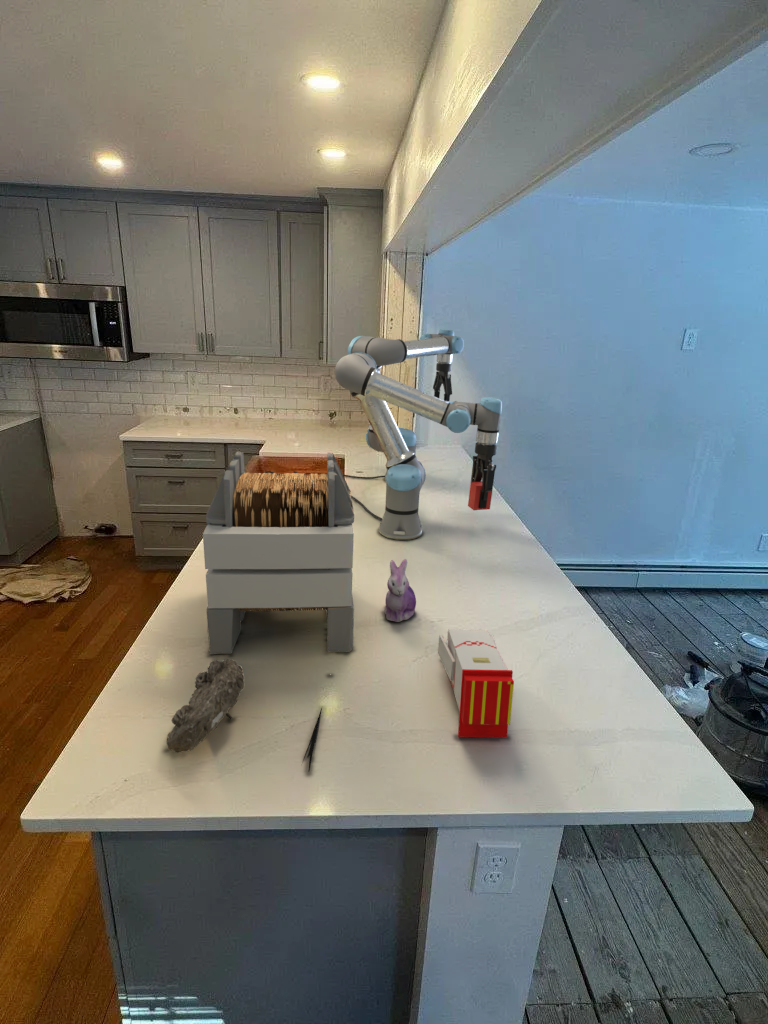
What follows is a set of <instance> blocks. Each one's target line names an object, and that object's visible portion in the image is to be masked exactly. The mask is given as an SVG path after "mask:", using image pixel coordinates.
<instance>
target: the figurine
mask: <svg viewBox="0 0 768 1024" xmlns="http://www.w3.org/2000/svg"><path fill="white" fill-rule="evenodd" d="M407 567H408V559H406V558H404V559H403V560H402V561H401V563H400V565H399V566H398V565H397V563H396V562H395V561H394V560H393V559H391V560H390V561H389V570H390V576H389V578H388V579H387V589H388V591H387V592H386V594H385V595H386V596H385V607H384V615H385V616H386V620H387V621H391V622H395V623H400V622H402V621H406V620H409V619H410V618H411V617H413V616H414V615H415V610H416V606H417V597H416V593H415V591H414V590H413V587H411V586H410V582H409V579H408V577H407V574H406V571H407Z"/></svg>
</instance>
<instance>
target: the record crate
mask: <svg viewBox="0 0 768 1024" xmlns="http://www.w3.org/2000/svg"><path fill="white" fill-rule="evenodd" d="M244 455H245V454H244V451H242V452H241V451H236V452H235V454H234V456H233V458H232V459H230V463H229V465H228V467H227V469H226V470H224V473H223V475H222V478H221V479H220V482H219V484H218V487H217V489H216V491H215V494H214V495H213V497H212V500H211V502H210V505H209V507H208V509H207V511H206V515H205V523H206V524H207V525H206V527H205V529H204V531H203V533H202V543H203V558H204V569H205V570H206V573H205V584H206V587H205V588H206V598H207V599H206V601H207V607H206V623H207V634H208V641H209V642H208V643H209V650H208V653H209V655H216V654H217V655H218V654H221V655H222V654H223V655H226V654H227V655H228V654H230V655H231V654H232V653H233V650H234V648H235V647H236V643H237V641H238V638H239V636H240V634H241V630H242V626H241V625H242V623H241V622H243V621H244V618H245V615H246V612H272V611H273V612H279V611H280V612H284V611H286V612H288V611H289V612H291V611H292V612H293V611H294V612H295V611H303V612H304V611H322V610H323V611H326V636H327V637H326V641H327V645H326V646H327V652H329V653H330V652H332V653H333V652H343V653H349V652H351V651H352V650H354V617H355V616H354V614H355V607H354V598H353V575H354V573H353V566H354V563H353V562H354V537H355V536H354V535H355V532H354V527H353V524H354V522H355V511H354V506H353V505H354V504H353V499H352V498H351V496H352V494H351V489H350V487H349V485H348V483H347V480H346V479H345V476H343V475H344V474H343V472H342V470H341V467H340V465H339V463H338V461H337V459H336V457H335V455H334V453H333V452H327V453H326V456H327V457H326V468H327V469H326V473H327V474H309V475H308V474H307V475H306V474H304V473H305V472H298V473H294V472H292V473H291V472H290V473H288V472H283V473H277V472H274V473H264V472H263V473H262V472H259V473H258V472H253V473H252V472H245V468H246V467H245V456H244ZM277 474H278V475H277ZM279 474H280V475H279ZM281 474H282V475H281ZM283 474H284V475H283ZM306 476H307V477H306Z"/></svg>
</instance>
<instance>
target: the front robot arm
mask: <svg viewBox="0 0 768 1024" xmlns="http://www.w3.org/2000/svg"><path fill="white" fill-rule="evenodd" d="M334 377H335V379H336V382H337V383H338V384H339V386H340V387H342V388H343V389H345V390H347V391H349V393H350V395H351V397H352V398H353V399H355V400H357V401H358V402H359V404H360V406H361V409H362V410H363V412H364V414H365V415H364V416H366V419H367V421H368V423H369V424H370V425H371V427H372V429H373V431H374V433H375V435H376V438H377V440H378V442H379V444H380V446H381V448H382V450H383V452H384V453H383V454H384V457H385V458H386V463H385V465H384V466H385V468H386V471H387V470H388V472H387V476H386V481H385V483H386V485H385V504H384V505H385V507H384V508H385V509H384V513H383V515H382V517H380V516H378V515H377V514H375V513H373V512H372V511H370V510H369V509H368V507H366V505H364V503H362V502H361V501H360V500H358V499H357V497H355V496H353V495H351V499H352V500H354V501H355V502H356V503H358V504H359V505H360V506H361V507H362V508H363V509H364V511H366V512H367V513H368V514H370V515H371V516H372V517H374V518H375V519H378V520H380V521H381V522H379V527H378V533H379V534H380V535H381V536H382V537H385V538H387V539H389V540H395V541H410V540H415V539H418V538H420V537H421V536H422V535H423V525H422V524H421V518H420V515H419V507H420V506H419V505H420V494H421V490H422V487H423V485H424V484H425V480H426V476H427V475H426V469H425V466H424V465H423V463H422V462H421V461H420V460H419V459H418V458H417V456H416V453H414V452H413V451H410V450H408V448H407V446H406V444H405V442H404V439H403V437H402V435H401V433H400V431H399V429H398V428H399V426H398V424H397V422H396V420H395V418H394V416H393V414H392V412H391V410H390V407H389V406H388V404H391V405H392V406H396V407H398V408H401V409H404V410H405V411H408V412H410V413H413V414H414V415H417V416H420V417H422V418H424V419H426V420H427V419H428V420H429V421H432V422H434V423H437V424H440V425H442V426H443V427H446V428H448V430H449V431H451V432H452V433H454V434H461V433H463V432H465V431H466V430H467V429H468V428H469V427H470V425H471V426H477V429H476V436H475V446H474V453H475V454H476V455H473V456H472V468H471V475H470V483H471V482H482V490H480V500H479V509H480V508H486V505H487V498H488V492H489V491H492V492H493V489H494V481H495V472H496V469H497V464H494V463H493V457H494V456H496V455H497V450H498V445H497V444H498V441H499V436H500V434H499V432H500V427H501V426H500V425H501V419H502V410H503V401H502V400H501V399H500V398H495V397H481V399H480V401H479V402H477V403H476V402H475V403H474V402H466V401H465V402H464V401H457V400H450V401H448V402H447V401H444V399H442V398H440V397H439V398H437V397H435V396H434V395H432V394H430V393H428V392H424V391H422V390H420V389H417V388H415V387H412V386H410V385H408V384H405V383H403V382H400V381H398V380H396V379H393V378H391V377H388V376H386V375H383V374H381V373H380V374H379V373H378V371H377V365H376V363H375V361H374V359H373V358H372V357H371V356H369V355H368V354H365V353H362V352H355V353H352V354H350V355H348V354H347V355H344V356H342V357H341V358H339V360H338V361H337V363H336V364H335V367H334ZM293 473H299V472H297V471H296V470H293ZM306 477H307V475H306Z"/></svg>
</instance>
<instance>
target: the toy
mask: <svg viewBox="0 0 768 1024" xmlns="http://www.w3.org/2000/svg"><path fill="white" fill-rule="evenodd" d="M446 640H447V643H446V641H445V639H444V636H443V635H442V634H439V637H438V646H437V656H438V657H439V659H440V661H441V663H442V666H443V668H444V670H445V672H446V674H447V677H448V679H449V681H450V684H451V687H452V690H453V693H454V697H455V701H456V705H457V708H458V711H459V714H458V715H459V716H458V730H457V731H458V732H457V737H458V738H508V731H509V726H510V725H511V717H512V707H513V697H514V696H513V695H514V684H515V680H514V679H513V673H514V671H513V670H512V669H508V667H507V665H506V662H505V661H504V659H503V658H502V655H501V653H500V651H499V649H498V647H497V643H496V639H495V637H494V635H493V634H491V632H490V631H489V629H467V628H466V629H465V628H463V629H461V628H460V629H459V628H448V630H447V639H446Z"/></svg>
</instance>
